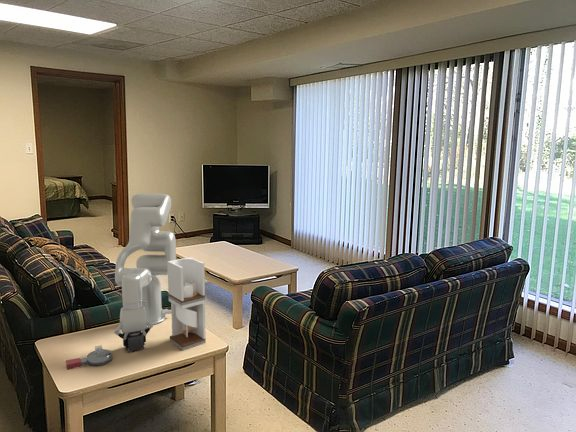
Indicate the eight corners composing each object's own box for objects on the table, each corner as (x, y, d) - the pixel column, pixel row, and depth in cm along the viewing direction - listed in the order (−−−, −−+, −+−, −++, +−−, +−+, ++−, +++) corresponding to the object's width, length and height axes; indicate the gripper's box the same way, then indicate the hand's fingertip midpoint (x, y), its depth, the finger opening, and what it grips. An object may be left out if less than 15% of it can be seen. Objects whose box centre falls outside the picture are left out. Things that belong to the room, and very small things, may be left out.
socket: (140, 342, 192) (140, 327, 191) (144, 348, 187) (143, 333, 185) (125, 345, 189) (125, 330, 188) (128, 351, 184) (127, 336, 183)
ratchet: (109, 353, 183) (109, 340, 182) (113, 362, 176) (113, 349, 175) (65, 362, 175) (64, 348, 174) (67, 373, 168) (66, 358, 167)
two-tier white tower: (169, 340, 195) (167, 261, 189) (191, 333, 202) (190, 257, 196) (183, 350, 187) (180, 267, 180) (205, 342, 194) (204, 263, 187)
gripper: (152, 297, 192) (153, 337, 195) (108, 304, 183) (111, 346, 187) (156, 303, 185) (158, 344, 189) (111, 311, 177) (114, 354, 180)
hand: (134, 345), depth 188 cm, fingers closed on socket, 6 cm apart
